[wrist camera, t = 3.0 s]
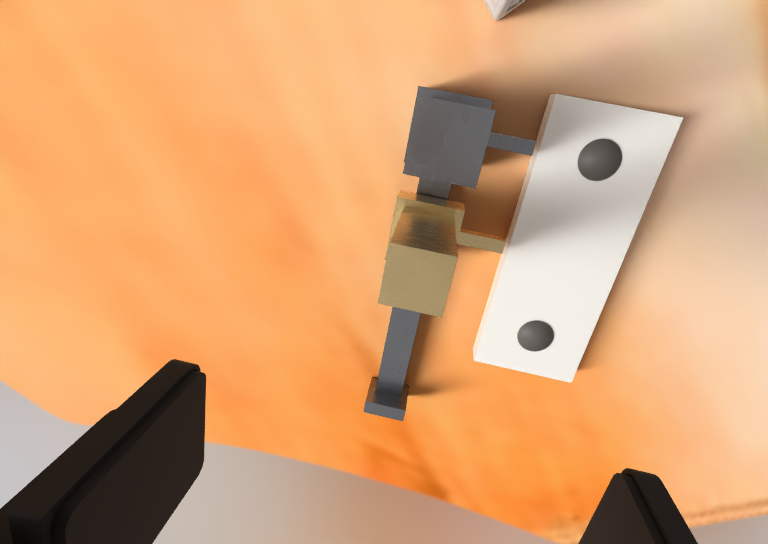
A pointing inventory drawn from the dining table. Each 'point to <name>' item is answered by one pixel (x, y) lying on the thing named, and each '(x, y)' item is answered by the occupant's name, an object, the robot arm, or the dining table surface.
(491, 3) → the light bulb box
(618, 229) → the hole plate
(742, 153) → the dining table surface
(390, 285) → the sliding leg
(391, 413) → the rail
